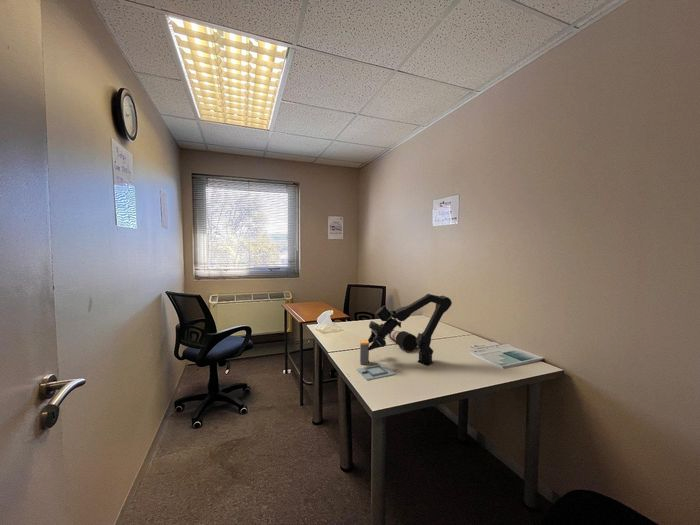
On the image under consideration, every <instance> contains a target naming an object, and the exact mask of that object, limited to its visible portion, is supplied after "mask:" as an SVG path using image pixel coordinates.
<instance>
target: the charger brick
mask: <svg viewBox="0 0 700 525" xmlns="http://www.w3.org/2000/svg"><path fill="white" fill-rule="evenodd" d="M359 344H360V345H359V363H360V365H362V366H363V365H365V366H366V365H369V363H370V362H369V361H370V360H369V357H370V356H369V355H370V352H369V351H370V350H368V348H369V346H370V343H369V342H368V339H366V340H365V339H364V340H363V339H362V340H359Z"/></svg>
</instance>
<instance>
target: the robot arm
mask: <svg viewBox="0 0 700 525" xmlns="http://www.w3.org/2000/svg"><path fill="white" fill-rule="evenodd" d="M430 303H433V304H435V309H434V311H433V313H432V315H431V317H430V319H429V320H428V323H427V324H426V327H425V328H424V331H423V332H422V333H420V332H418V334H417V336H416V344H417V347H418V348H419V352H418V360H417V362H418V363H420V364H423V365H424V366H430V365H431V364H434V361H433V353H434V350H433V349H432V348H431V347H432V346H431V343H432V336H433V334H434V332H435V330H436V328H437V326H438V325H439V322H440V321H441V318H442V316H443V315H444V314H445V313H446V312H447V311H448V310H449V309H450V307H452V304H453V302H452V299H451V298H449V297H448V296H446V295H440V296H439V295H434V294H431V293H427V294H426V295H424V296H422V297H420V298H419V299H417V300H416V301H413V302H412V303H410V304H409V305H406V306H401V307H399V308H397V309H396V310H389V309H388V308H387V307H386V306H385V305H383V306H381V307H380V308H378V309H377V310H376V311H375V316H377V317H378V319H380V320H381V321H382V322H384V323H380V324H379V323H378V322H375V321H372V320H371V321H370V323H369V325H368V327H369V329H370V333H371V334H370V336H369V337H368V339H367V340H368V342H369V348H368V350H369V351H373V350H375V349H379V348H384V347H386V345H387V342H386V337H387V336H388V334H391V333H390V332H391V331H392V330H395V328H397V327H399V328H402V322H405V321H406V320H407V319H408V318H409V317H410V316H411V315H412V314H413V313H415V312H416V311H418V310H420V309H421V308H423V307H425V306H427V305H428V304H430Z"/></svg>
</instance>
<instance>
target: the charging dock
mask: <svg viewBox="0 0 700 525" xmlns="http://www.w3.org/2000/svg"><path fill="white" fill-rule="evenodd" d="M356 371H357V372H358V373H359V374H360V375H361V376H362V377H363V378H364V379H365V380H366V381H370V380H375V379H380V378H381V379H382V378H385V377H390V376H395V375H397V373H396V372H395V371H393V369H391V368H390V367H388V366H387V365H386V364H385V363H381V364H376V365H370V366H366V367H365V366H364V367H359V368H356Z"/></svg>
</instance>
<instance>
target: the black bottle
mask: <svg viewBox="0 0 700 525" xmlns="http://www.w3.org/2000/svg"><path fill="white" fill-rule="evenodd" d="M390 333H391V334H388V335H387V336H388V338H390V339H391V340H393V341H394V342H396V345H398V347H399V348H402V349H403V350H405V351H408V352H413V351H414V350H415V349H417V347H418V346H417V344H416V338H417V336H416V335H415V334H412V333H410V332H408V331H405V330H402V331H399V330H396V329H393V330H392V331H391V332H390Z"/></svg>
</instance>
